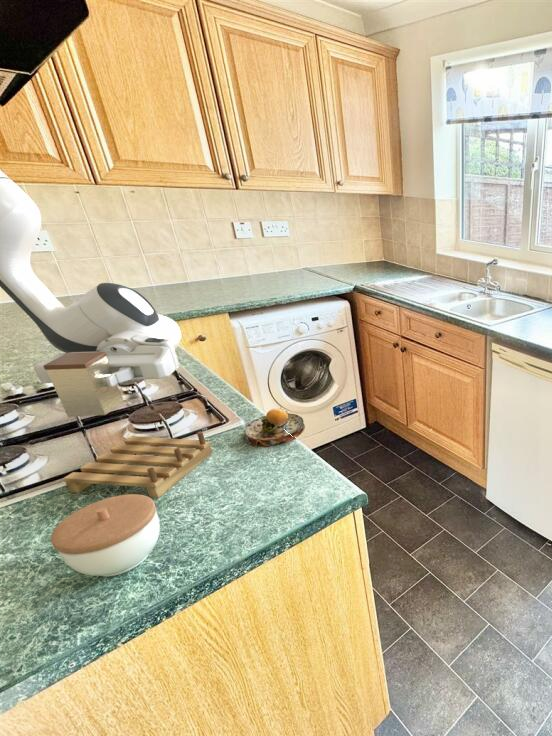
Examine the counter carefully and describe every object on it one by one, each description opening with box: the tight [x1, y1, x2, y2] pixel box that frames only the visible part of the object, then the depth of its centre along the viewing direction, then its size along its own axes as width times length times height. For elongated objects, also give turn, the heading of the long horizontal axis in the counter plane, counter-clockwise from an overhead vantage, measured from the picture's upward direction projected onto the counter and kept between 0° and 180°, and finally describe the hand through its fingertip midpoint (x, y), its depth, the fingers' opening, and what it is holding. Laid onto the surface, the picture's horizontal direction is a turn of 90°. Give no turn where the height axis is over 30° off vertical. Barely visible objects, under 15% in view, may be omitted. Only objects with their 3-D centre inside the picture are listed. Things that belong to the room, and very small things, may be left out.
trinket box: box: [50, 493, 161, 578], centre depth 59 cm, size 11×11×9 cm
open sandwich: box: [243, 406, 306, 447], centre depth 92 cm, size 12×12×8 cm
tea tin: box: [43, 352, 125, 418], centre depth 75 cm, size 6×6×10 cm
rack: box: [63, 431, 213, 499], centre depth 78 cm, size 16×14×6 cm
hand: (82, 383), depth 74 cm, fingers closed on tea tin, 5 cm apart
